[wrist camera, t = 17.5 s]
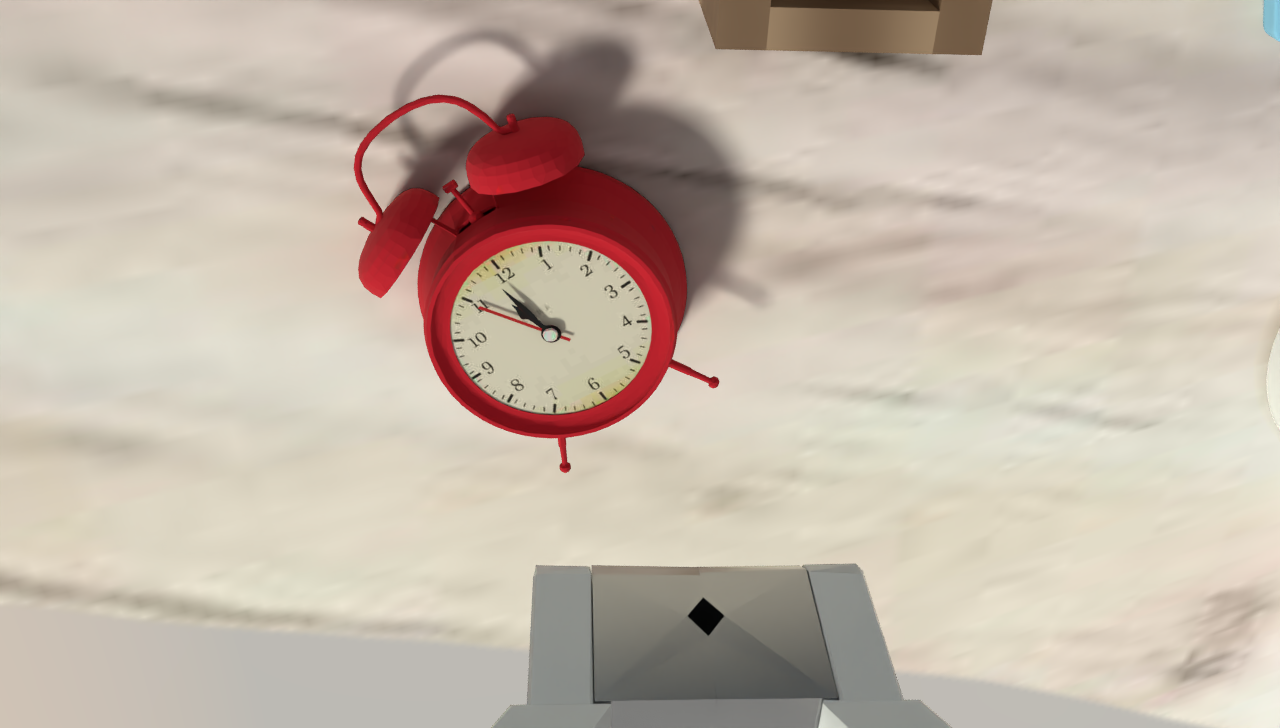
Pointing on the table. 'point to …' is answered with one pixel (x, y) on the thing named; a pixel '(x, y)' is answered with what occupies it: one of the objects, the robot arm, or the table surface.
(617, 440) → the table surface
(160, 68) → the table surface
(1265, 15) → the chair
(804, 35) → the box
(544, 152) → the alarm clock
